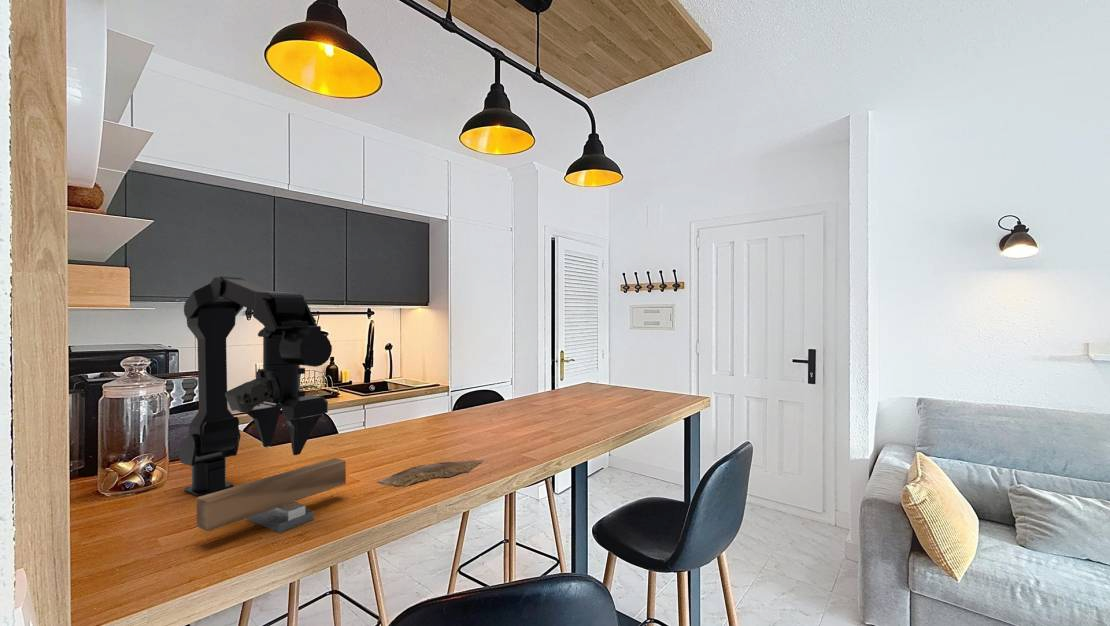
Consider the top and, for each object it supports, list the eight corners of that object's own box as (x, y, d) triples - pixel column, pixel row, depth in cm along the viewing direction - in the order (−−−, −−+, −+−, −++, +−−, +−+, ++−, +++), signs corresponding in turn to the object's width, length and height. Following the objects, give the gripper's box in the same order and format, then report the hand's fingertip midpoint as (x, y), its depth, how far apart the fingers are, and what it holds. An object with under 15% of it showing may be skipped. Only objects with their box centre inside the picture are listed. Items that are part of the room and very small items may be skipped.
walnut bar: (196, 526, 76) (196, 497, 76) (334, 480, 97) (334, 457, 97) (207, 531, 75) (207, 502, 75) (345, 483, 95) (345, 460, 95)
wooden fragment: (385, 492, 100) (385, 487, 100) (370, 477, 109) (370, 473, 109) (496, 469, 115) (496, 464, 115) (475, 457, 124) (475, 453, 124)
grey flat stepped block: (246, 519, 86) (246, 502, 86) (280, 507, 91) (280, 491, 91) (279, 532, 81) (279, 514, 81) (313, 519, 86) (313, 502, 86)
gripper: (204, 363, 85) (204, 453, 85) (264, 371, 75) (264, 472, 75) (269, 358, 94) (269, 439, 95) (330, 364, 85) (329, 454, 85)
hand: (281, 450), depth 87 cm, fingers open, 9 cm apart
